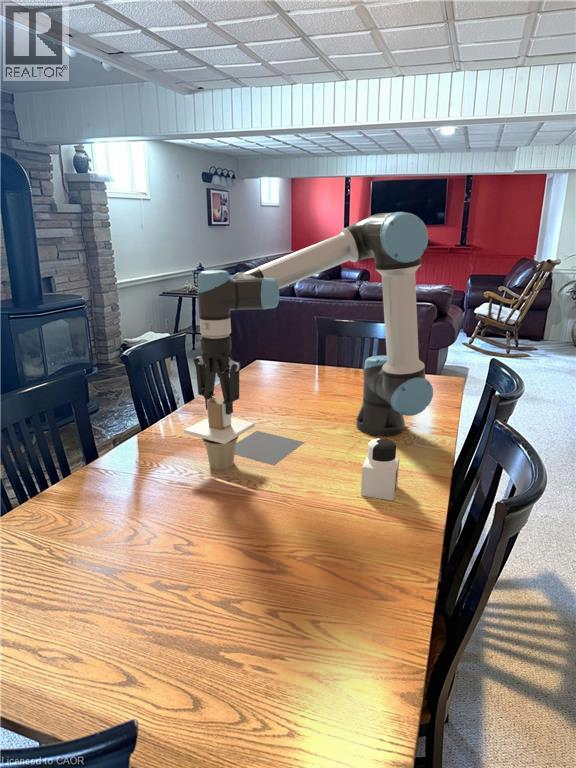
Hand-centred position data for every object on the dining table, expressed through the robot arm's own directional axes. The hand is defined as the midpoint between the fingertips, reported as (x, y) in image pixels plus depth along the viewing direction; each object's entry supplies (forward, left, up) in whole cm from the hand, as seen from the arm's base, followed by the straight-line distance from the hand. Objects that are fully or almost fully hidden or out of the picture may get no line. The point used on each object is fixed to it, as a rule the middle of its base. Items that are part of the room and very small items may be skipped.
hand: (219, 423), depth 129 cm
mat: (-4, -15, -12) cm, 20 cm away
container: (-41, -9, -13) cm, 44 cm away
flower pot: (0, 0, -13) cm, 13 cm away
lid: (0, 0, -2) cm, 2 cm away
